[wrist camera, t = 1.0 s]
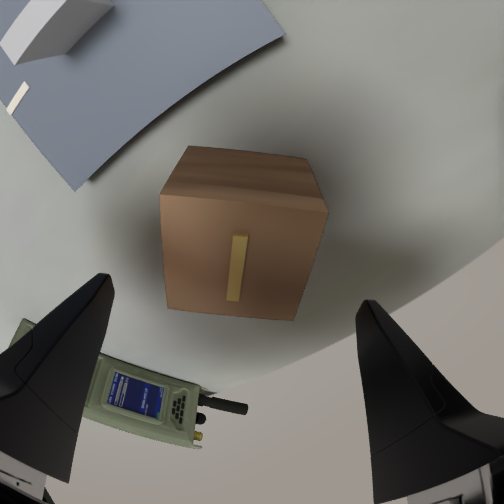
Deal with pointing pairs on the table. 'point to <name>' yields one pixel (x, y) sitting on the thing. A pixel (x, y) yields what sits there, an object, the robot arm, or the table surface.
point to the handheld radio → (145, 401)
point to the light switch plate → (113, 67)
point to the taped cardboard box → (239, 232)
